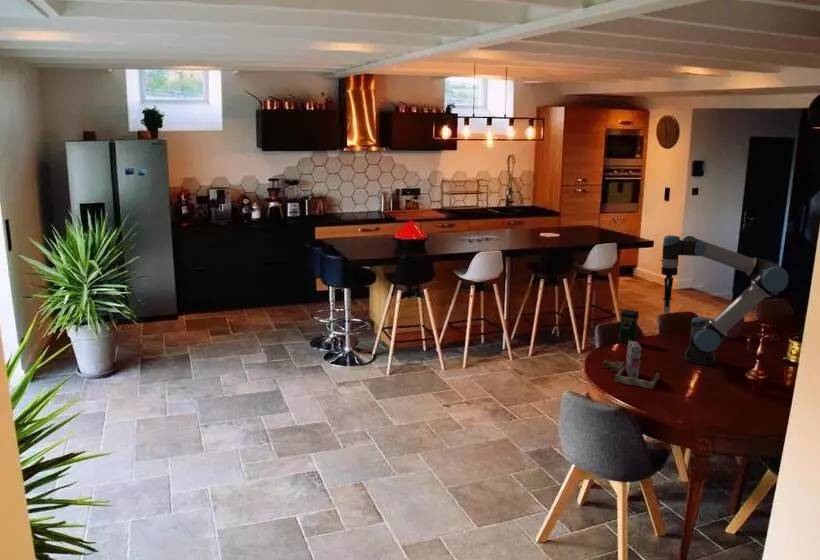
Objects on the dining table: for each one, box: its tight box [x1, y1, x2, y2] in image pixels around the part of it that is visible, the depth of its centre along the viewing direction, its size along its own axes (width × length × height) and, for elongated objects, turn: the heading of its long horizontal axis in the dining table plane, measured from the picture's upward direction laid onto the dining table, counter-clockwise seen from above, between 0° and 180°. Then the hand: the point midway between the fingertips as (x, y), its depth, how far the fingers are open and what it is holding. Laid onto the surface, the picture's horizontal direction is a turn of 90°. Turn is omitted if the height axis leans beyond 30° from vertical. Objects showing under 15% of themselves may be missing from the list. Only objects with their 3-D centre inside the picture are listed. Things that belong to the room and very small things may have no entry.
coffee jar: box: [618, 308, 640, 344], centre depth 389 cm, size 10×8×19 cm
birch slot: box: [614, 366, 660, 390], centre depth 330 cm, size 17×15×3 cm
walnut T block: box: [602, 360, 625, 373], centre depth 347 cm, size 9×10×2 cm
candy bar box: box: [624, 341, 643, 379], centre depth 335 cm, size 11×5×16 cm, turn 173°
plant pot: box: [717, 313, 745, 339], centre depth 403 cm, size 14×14×13 cm
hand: (666, 312), depth 348 cm, fingers closed
